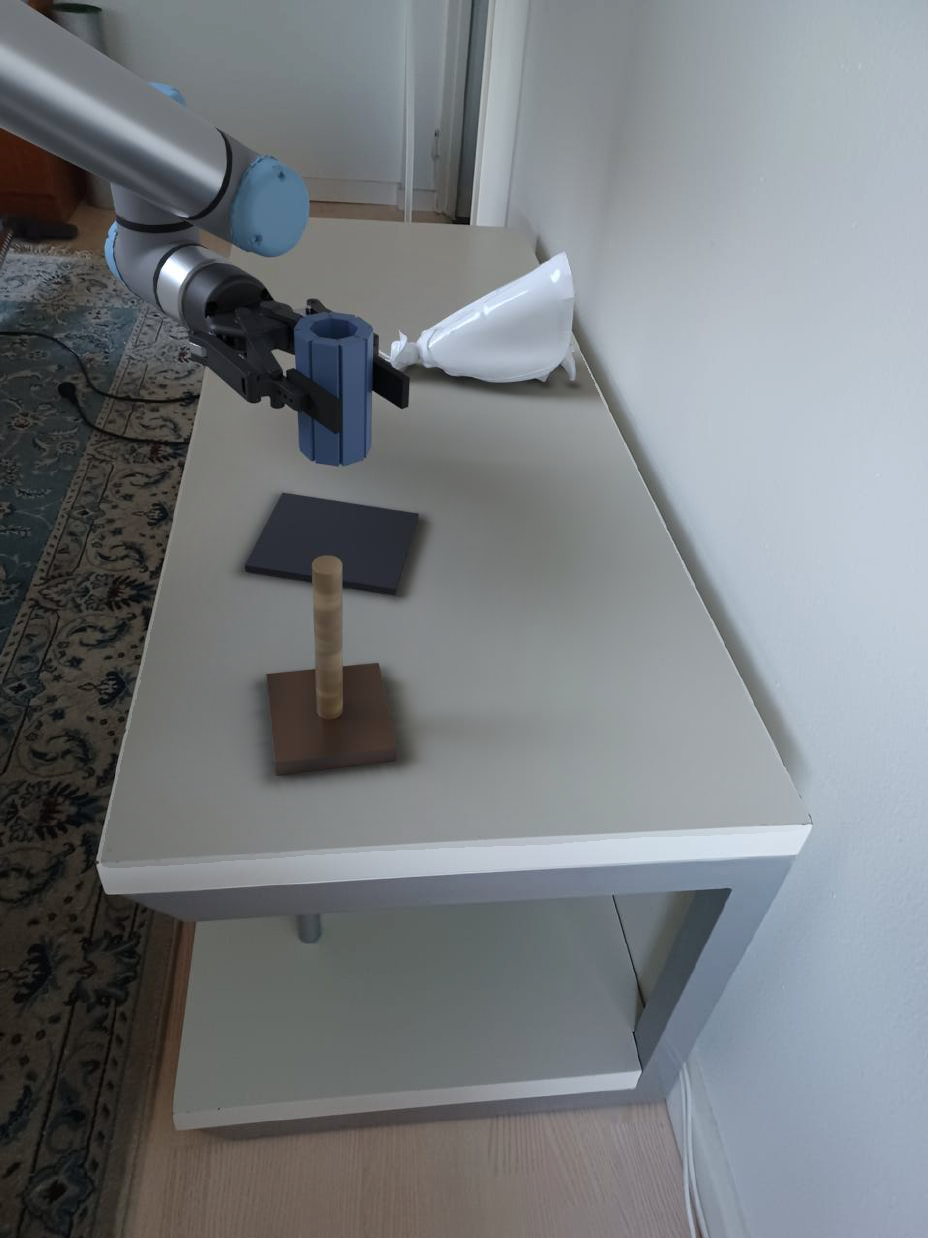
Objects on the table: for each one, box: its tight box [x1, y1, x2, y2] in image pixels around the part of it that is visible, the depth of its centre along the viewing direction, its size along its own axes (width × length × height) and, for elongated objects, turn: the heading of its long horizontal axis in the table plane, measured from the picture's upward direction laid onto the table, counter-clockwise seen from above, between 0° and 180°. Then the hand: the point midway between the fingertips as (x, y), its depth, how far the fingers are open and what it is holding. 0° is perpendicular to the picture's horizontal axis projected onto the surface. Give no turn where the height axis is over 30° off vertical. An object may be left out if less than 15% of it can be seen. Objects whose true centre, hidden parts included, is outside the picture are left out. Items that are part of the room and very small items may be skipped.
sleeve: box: [294, 311, 374, 467], centre depth 76 cm, size 6×6×11 cm
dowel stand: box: [265, 555, 399, 776], centre depth 65 cm, size 9×9×16 cm
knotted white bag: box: [379, 251, 577, 383], centre depth 111 cm, size 14×16×25 cm
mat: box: [244, 492, 420, 596], centre depth 86 cm, size 14×12×1 cm
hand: (372, 405), depth 73 cm, fingers closed on sleeve, 6 cm apart
